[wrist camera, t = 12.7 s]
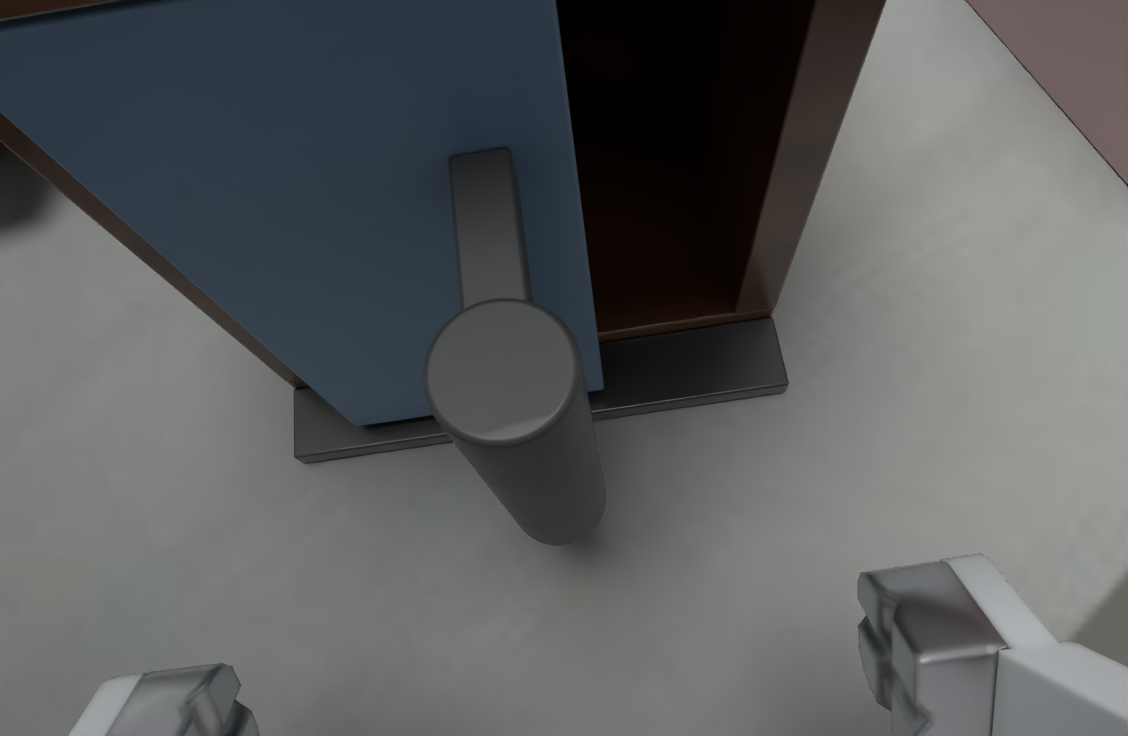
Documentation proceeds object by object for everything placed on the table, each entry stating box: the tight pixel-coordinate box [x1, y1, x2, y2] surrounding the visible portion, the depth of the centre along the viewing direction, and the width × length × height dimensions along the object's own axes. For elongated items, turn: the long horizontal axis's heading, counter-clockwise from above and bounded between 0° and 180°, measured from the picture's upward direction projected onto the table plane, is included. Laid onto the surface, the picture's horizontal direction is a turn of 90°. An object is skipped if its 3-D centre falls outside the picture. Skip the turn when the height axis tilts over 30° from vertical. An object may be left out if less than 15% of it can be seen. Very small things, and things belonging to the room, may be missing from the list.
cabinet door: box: [0, 0, 606, 545], centre depth 13 cm, size 5×6×13 cm
